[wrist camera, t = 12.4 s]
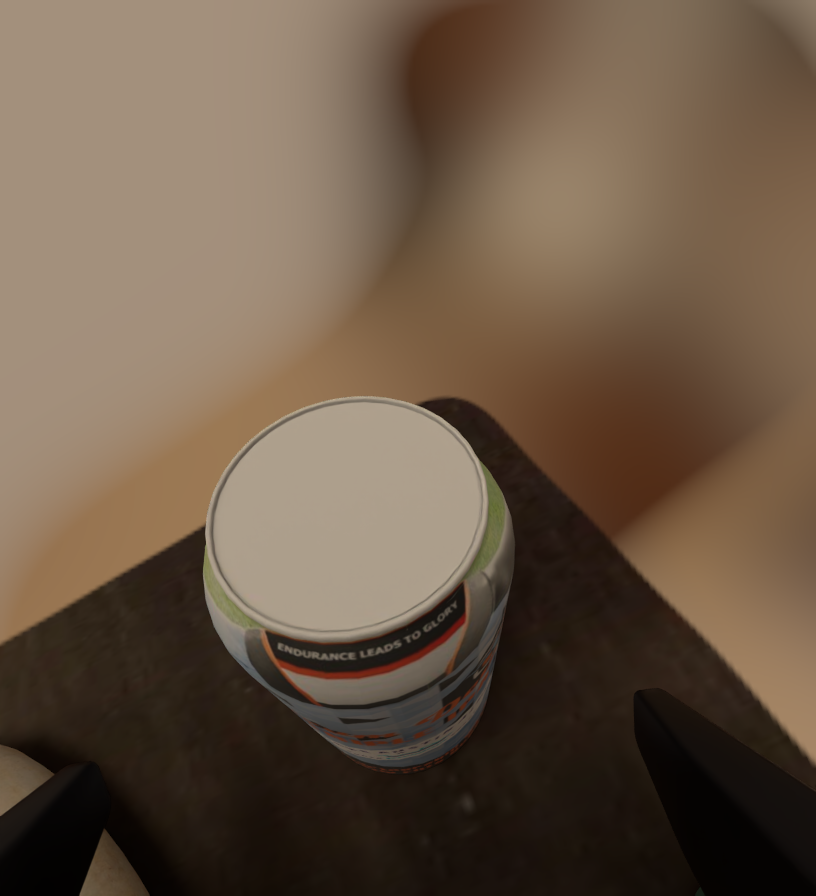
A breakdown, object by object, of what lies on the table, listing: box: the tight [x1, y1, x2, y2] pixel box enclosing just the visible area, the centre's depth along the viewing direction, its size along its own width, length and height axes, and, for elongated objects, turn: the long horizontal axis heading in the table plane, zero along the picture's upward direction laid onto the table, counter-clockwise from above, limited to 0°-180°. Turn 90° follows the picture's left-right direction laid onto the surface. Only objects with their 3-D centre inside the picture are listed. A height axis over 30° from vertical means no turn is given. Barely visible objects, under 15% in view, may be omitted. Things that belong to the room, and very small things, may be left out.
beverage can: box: [203, 396, 515, 774], centre depth 13 cm, size 6×7×12 cm
